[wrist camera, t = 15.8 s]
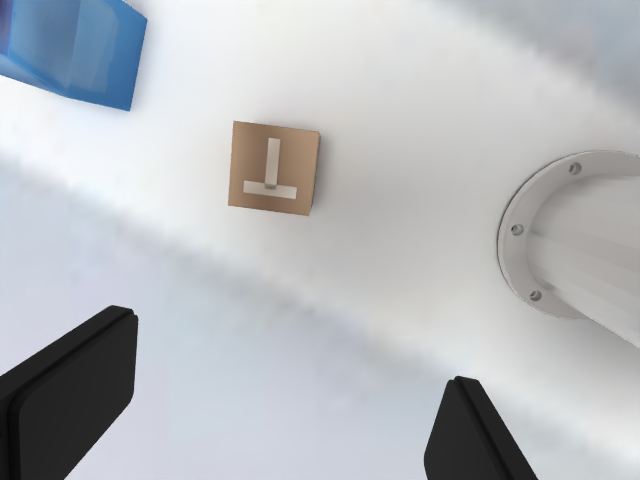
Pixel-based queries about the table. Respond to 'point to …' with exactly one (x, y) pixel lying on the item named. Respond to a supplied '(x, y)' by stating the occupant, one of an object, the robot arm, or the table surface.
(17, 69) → the perfume bottle
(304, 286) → the table surface
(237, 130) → the letter cube
